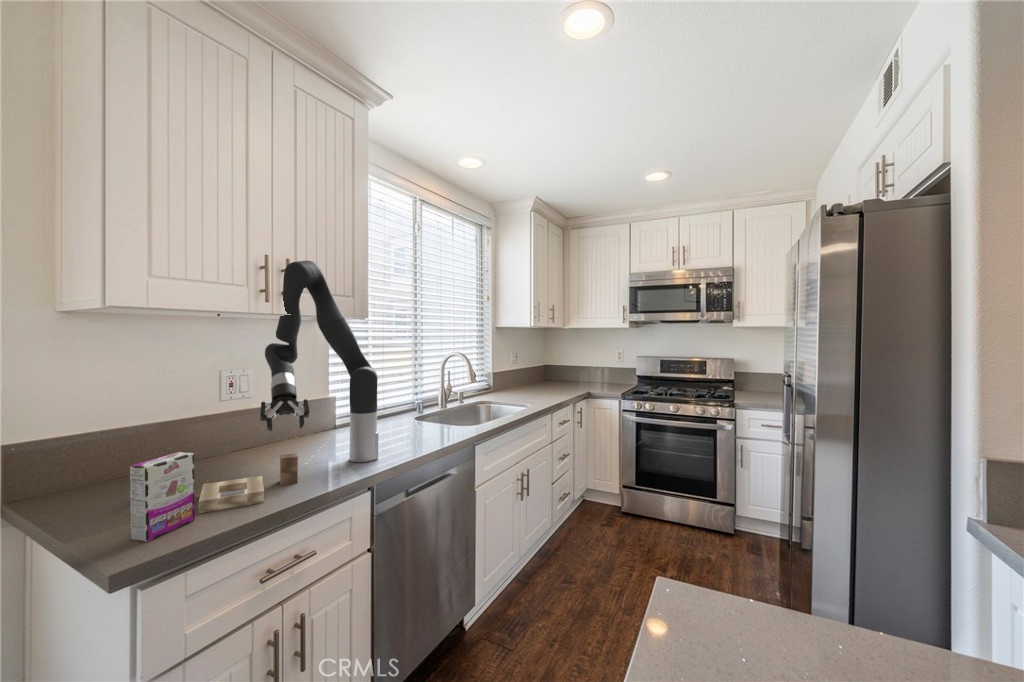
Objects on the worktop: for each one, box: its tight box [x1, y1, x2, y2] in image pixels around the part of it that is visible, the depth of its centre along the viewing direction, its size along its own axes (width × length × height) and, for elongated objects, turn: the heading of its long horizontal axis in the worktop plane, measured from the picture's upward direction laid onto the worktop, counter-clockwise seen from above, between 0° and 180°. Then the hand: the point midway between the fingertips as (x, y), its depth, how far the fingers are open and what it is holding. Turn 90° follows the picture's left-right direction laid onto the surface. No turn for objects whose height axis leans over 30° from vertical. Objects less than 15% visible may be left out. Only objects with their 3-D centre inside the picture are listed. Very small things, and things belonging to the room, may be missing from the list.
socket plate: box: [198, 475, 265, 514], centre depth 115 cm, size 14×14×3 cm
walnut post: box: [279, 452, 299, 486], centre depth 128 cm, size 4×4×8 cm
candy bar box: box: [129, 451, 196, 543], centre depth 96 cm, size 11×5×16 cm, turn 168°
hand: (286, 428), depth 136 cm, fingers open, 8 cm apart
